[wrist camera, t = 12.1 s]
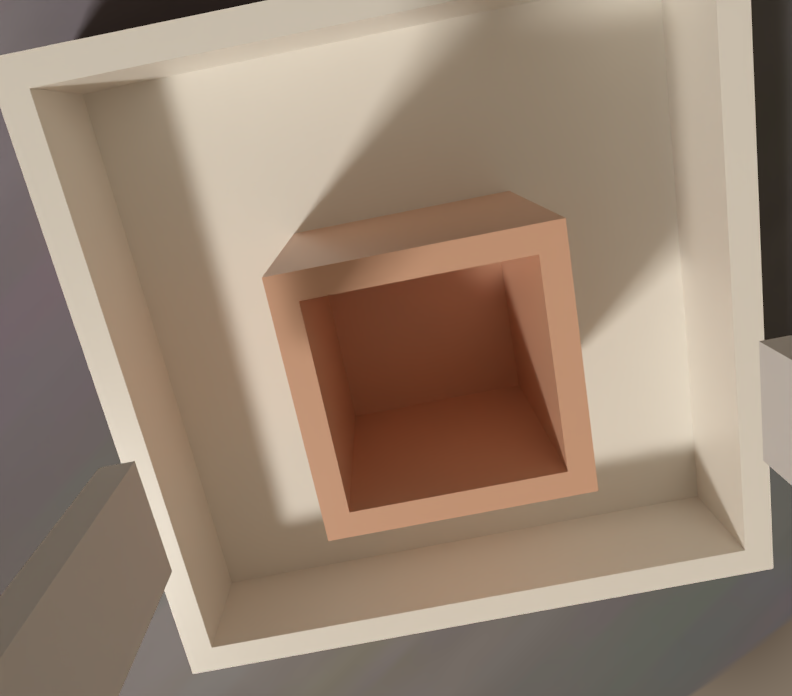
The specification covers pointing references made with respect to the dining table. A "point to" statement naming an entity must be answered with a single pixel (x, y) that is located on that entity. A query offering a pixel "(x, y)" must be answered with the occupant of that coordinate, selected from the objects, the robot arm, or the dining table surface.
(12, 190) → the dining table surface
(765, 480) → the cream square tray
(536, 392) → the small crate
